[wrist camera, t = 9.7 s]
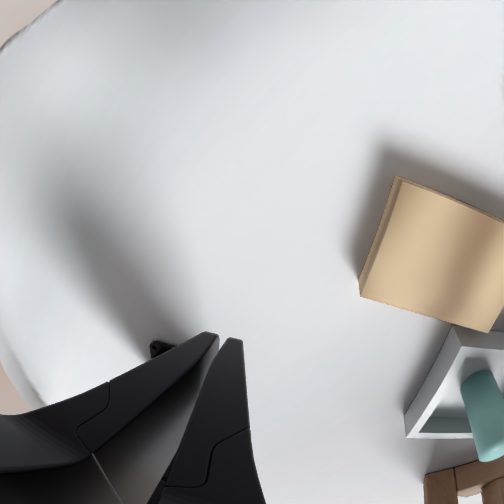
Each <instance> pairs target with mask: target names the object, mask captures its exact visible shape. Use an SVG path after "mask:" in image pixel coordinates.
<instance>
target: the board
mask: <svg viewBox="0 0 504 504" xmlns="http://www.w3.org/2000/svg"><path fill="white" fill-rule="evenodd" d="M358 282H359V290H360V296H361V297H364V298H367V299H371V300H374V301H378V302H381V303H384V304H388V305H391V306H395V307H398V308H401V309H405V310H408V311H412V312H415V313H418V314H422V315H425V316H429V317H432V318H436V319H439V320H443V321H446V322H450V323H453V324H457V325H460V326H464V327H467V328H471V329H474V330H478V331H481V332H485V333H489V331H490V329H491V328H492V326H493V324H494V322H495V321H496V319H497V317H498V315H499V314H500V312H501V310H502V308H503V306H504V221H503V220H501V219H499V218H497V217H495V216H493V215H491V214H488V213H486V212H484V211H482V210H480V209H477V208H475V207H473V206H471V205H469V204H466V203H464V202H462V201H459V200H457V199H455V198H452V197H450V196H447V195H445V194H443V193H440V192H438V191H435V190H433V189H430V188H428V187H425V186H423V185H420V184H417V183H415V182H412V181H409V180H407V179H404V178H401V177H398V176H396V175H395V178H394V181H393V185H392V188H391V191H390V194H389V197H388V200H387V203H386V206H385V209H384V212H383V215H382V218H381V221H380V224H379V227H378V230H377V233H376V235H375V238H374V241H373V244H372V246H371V249H370V252H369V254H368V257H367V260H366V262H365V265H364V267H363V270H362V273H361V275H360V278H359V280H358Z"/></svg>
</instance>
